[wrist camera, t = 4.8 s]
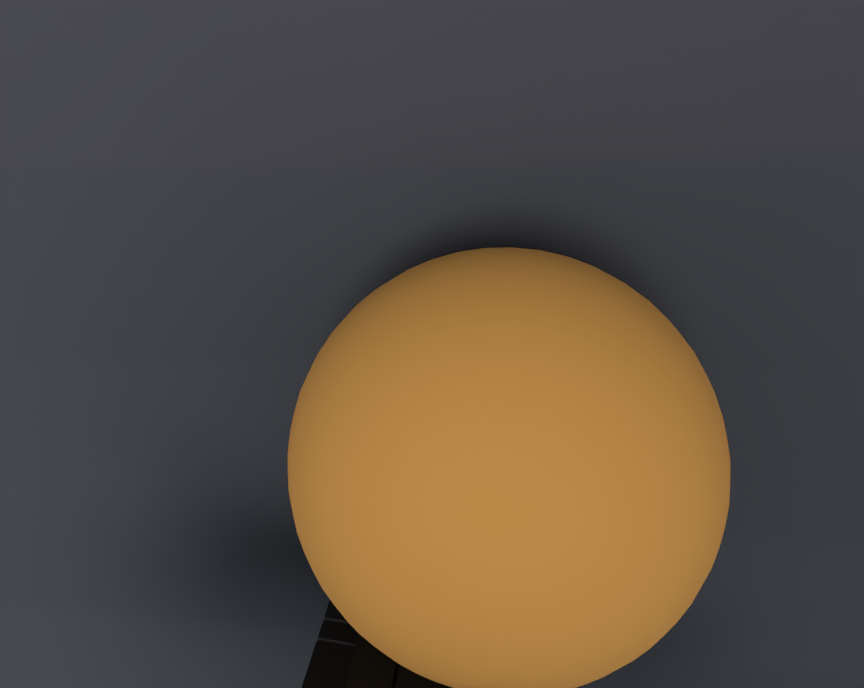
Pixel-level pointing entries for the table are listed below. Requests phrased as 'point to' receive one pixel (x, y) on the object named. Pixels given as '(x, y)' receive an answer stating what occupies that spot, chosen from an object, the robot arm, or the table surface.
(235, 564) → the table surface
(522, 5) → the table surface
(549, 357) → the ball
